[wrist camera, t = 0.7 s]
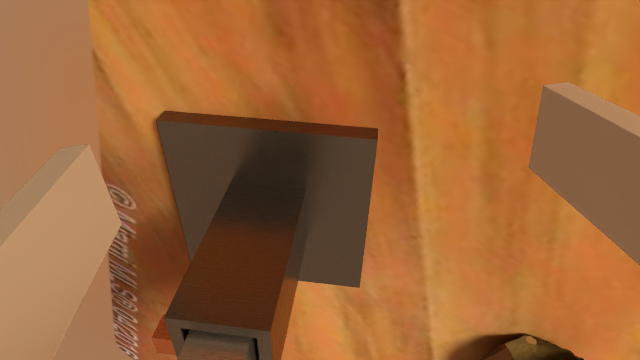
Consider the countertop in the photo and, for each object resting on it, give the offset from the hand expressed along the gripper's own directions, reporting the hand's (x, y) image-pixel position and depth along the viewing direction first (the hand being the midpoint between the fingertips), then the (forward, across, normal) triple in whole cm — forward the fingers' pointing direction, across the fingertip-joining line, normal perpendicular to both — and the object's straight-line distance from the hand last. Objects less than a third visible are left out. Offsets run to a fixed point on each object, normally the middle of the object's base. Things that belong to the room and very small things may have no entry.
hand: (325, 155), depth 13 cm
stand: (+19, -3, -14) cm, 24 cm away
